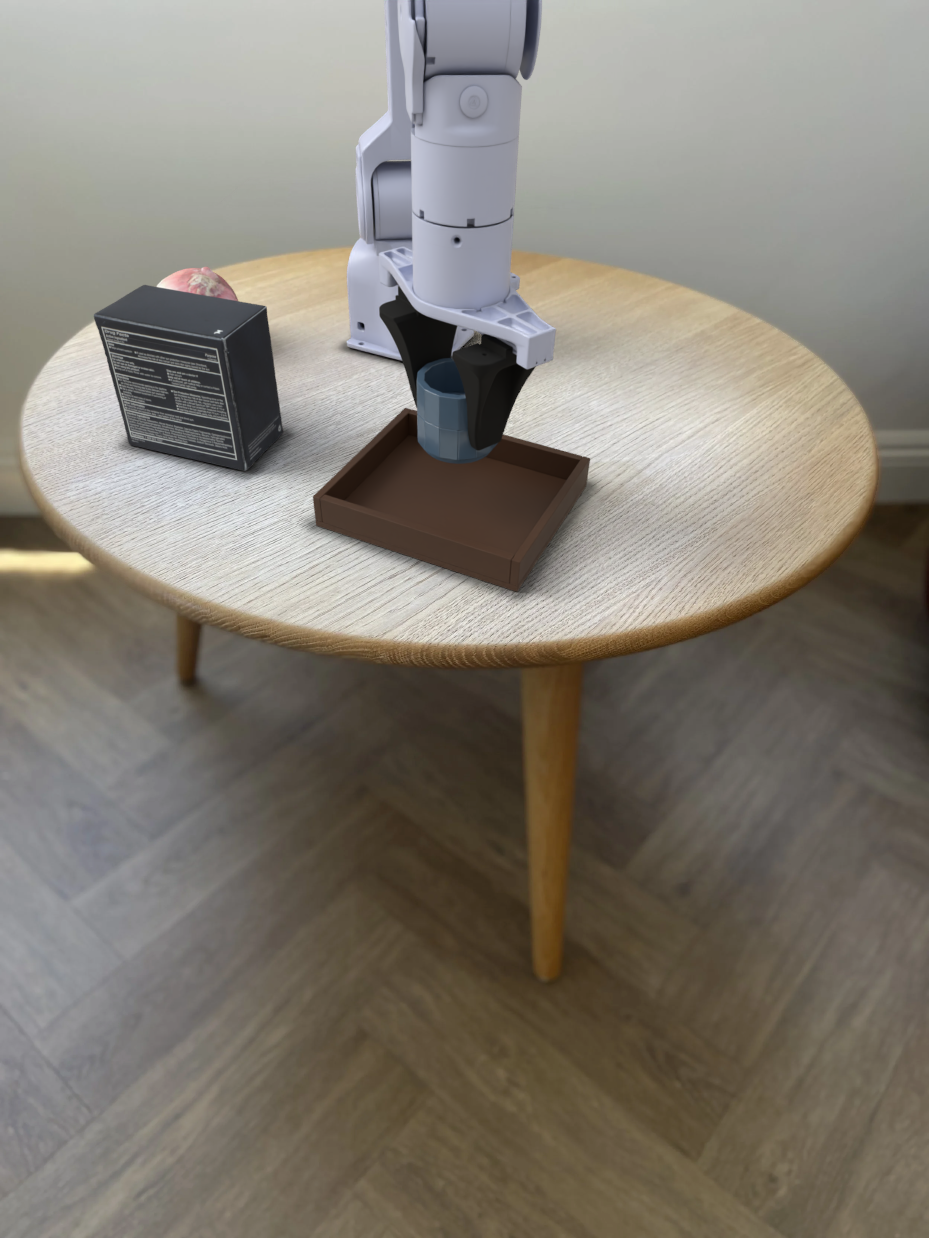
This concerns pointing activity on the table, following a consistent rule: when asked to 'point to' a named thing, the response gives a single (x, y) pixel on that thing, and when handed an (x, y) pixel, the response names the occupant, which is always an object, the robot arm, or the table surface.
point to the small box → (193, 374)
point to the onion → (199, 283)
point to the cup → (444, 414)
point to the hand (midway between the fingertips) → (458, 424)
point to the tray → (454, 502)
